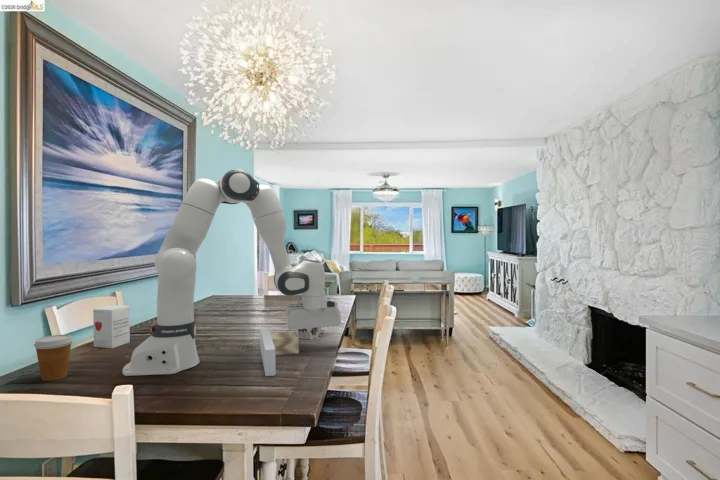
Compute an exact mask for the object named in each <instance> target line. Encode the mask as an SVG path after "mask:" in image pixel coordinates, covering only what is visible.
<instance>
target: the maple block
mask: <svg viewBox="0 0 720 480" xmlns="http://www.w3.org/2000/svg"><path fill="white" fill-rule="evenodd" d="M270 334H271V337H272V340H273V344H274V347H275V356H283V355H294V354H299V353H300V343H299V342H300V338H299V337H298V333H297V332H296V331H283V332H272V333H271V332H270ZM293 353H294V354H293Z"/></svg>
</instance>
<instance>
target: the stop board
mask: <svg viewBox="0 0 720 480" xmlns="http://www.w3.org/2000/svg"><path fill="white" fill-rule="evenodd" d="M259 332H260V333H259V338H260V339H259V342H260V343H259V344H260V347H259V349H260V354H261V355H260V356H261V359H262V365H263V371H264V375H265V377H273V376H276V372H277V371H276V368H277V367H276V355H275V347H274V344H273V340H272V337H271V334H270V333H271V331H270V329H269V327H260V328H259Z"/></svg>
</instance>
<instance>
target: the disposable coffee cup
mask: <svg viewBox="0 0 720 480" xmlns="http://www.w3.org/2000/svg"><path fill="white" fill-rule="evenodd" d="M73 342H74V339H73V338H72V335H71V334H55V335H47V336H43V337H40V338H37V339H36V340H35V343H34V344H33V347H34V349H35V351H36V356H37V361H38V362H37V363H38V368H39V372H40V378H41V381H43V382H44V381H45V382H51V380H52V381H56V380H61V379H64V378H66V377H67V376H68V370H69V363H70V356H71V349H72V348H71V347H72V343H73Z"/></svg>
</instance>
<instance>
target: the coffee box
mask: <svg viewBox="0 0 720 480" xmlns="http://www.w3.org/2000/svg"><path fill="white" fill-rule="evenodd" d="M300 303H302V297H301V298H299V299H297V304H300ZM310 332H311V334H316V332H317V328H312V331H310ZM297 335H298V337H299V339H307V340H310V334H309V332H308V331H307V328H305V329H297Z"/></svg>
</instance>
